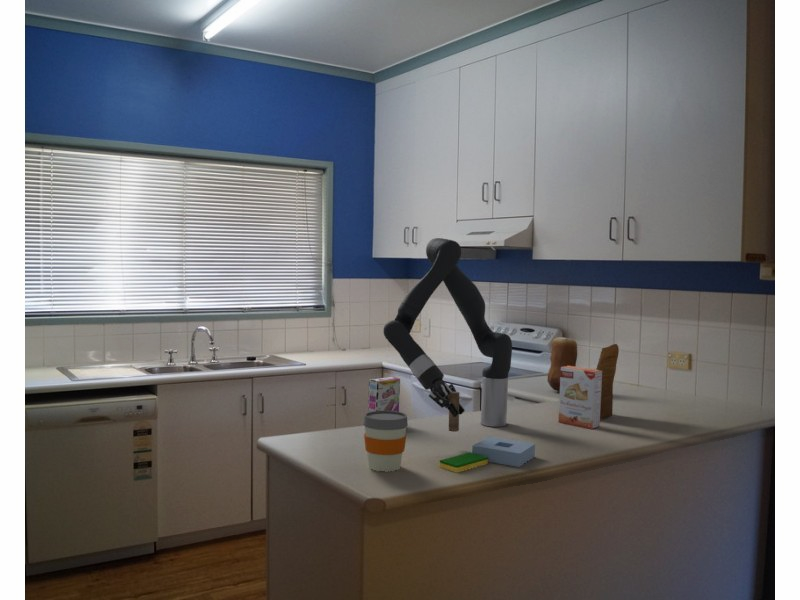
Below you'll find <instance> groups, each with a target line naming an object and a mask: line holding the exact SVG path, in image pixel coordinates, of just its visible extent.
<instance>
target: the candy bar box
mask: <svg viewBox="0 0 800 600" xmlns="http://www.w3.org/2000/svg"><path fill="white" fill-rule="evenodd" d="M400 388H401V378H398V377H394V376H388V377H382V378H381V377H380V378H371V379H368V401H367V402H368V404H367V405H368V406H367V413H368V412H372V411H397V412H400V391H401V389H400Z"/></svg>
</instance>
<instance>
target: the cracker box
mask: <svg viewBox="0 0 800 600" xmlns="http://www.w3.org/2000/svg"><path fill="white" fill-rule="evenodd" d="M601 388H602V371H601V370H596V369H595V368H594V369H592V368H587V367H581V366H576V367H575V366H564V367H561V376H560V392H559V404H558V420H557V421H558V423H562V424H567V425H571V426H575V427H581V428H585V429H589V430H590V429H591V430H593V429H597V428H599V427H600V426H601V420H600V409H601Z"/></svg>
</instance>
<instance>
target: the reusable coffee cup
mask: <svg viewBox="0 0 800 600" xmlns="http://www.w3.org/2000/svg"><path fill="white" fill-rule="evenodd" d="M408 425H409V424H408V415H407V414H406V413H405V412H400V411H399V412H397V411H372V412H368V411H367V412H366V413H364V417H363V426H364V434H363V438H364V448H365V451H366V452H367V462H368V464H367V465H368V469H369V470H371V469H373V470H372V471H374V470H376V471H375V472H379V471H385V472H384V473H391V472H390V471H392V472H395V470H397V471H399V470H400V469H401V466H402V458H403V453H404V451H405V449H406V448H405V447H406V441H407V433H406V432H407V427H408ZM398 469H399V470H398ZM388 471H389V472H388Z"/></svg>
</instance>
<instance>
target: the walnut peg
mask: <svg viewBox="0 0 800 600" xmlns="http://www.w3.org/2000/svg"><path fill="white" fill-rule="evenodd" d="M459 397H460V392H459V391H456V392H449V399H450V401H451V402H452V404H453V405H454V406H455V407H456V408H457V410H458V411H459V403H460V398H459ZM459 430H460V415H459V414H458V415H457V416H456V417H454V416H453V415H452V414H451V412H450V411H449V410H448V432H453V433H454V432H459Z"/></svg>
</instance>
